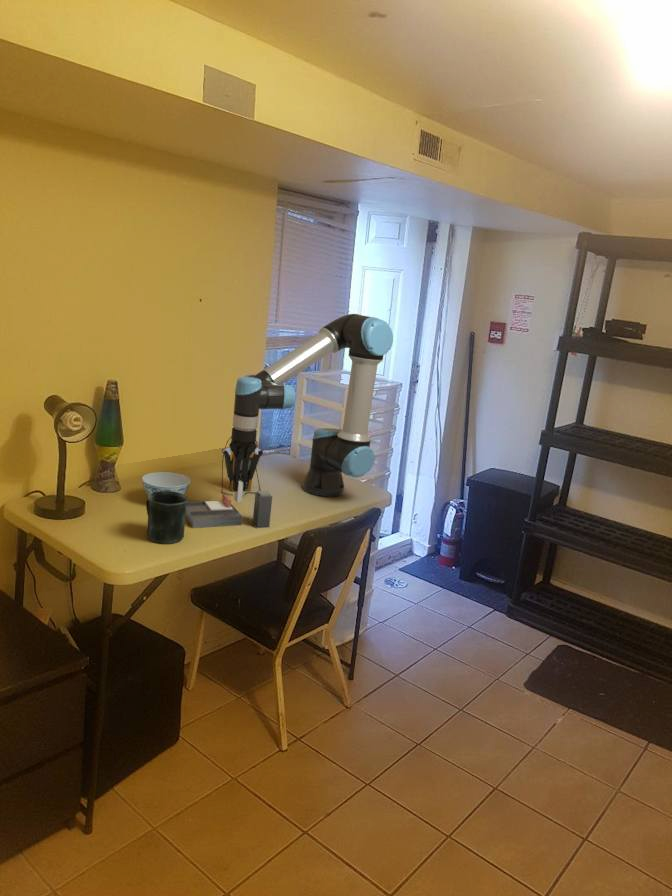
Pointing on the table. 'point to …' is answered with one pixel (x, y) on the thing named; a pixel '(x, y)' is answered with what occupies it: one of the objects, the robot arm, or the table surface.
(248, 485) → the multimeter
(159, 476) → the chinaware
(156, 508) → the mug
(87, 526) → the table surface
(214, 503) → the shutter
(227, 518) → the socket plate
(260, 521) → the gray rectangular block
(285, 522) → the table surface
